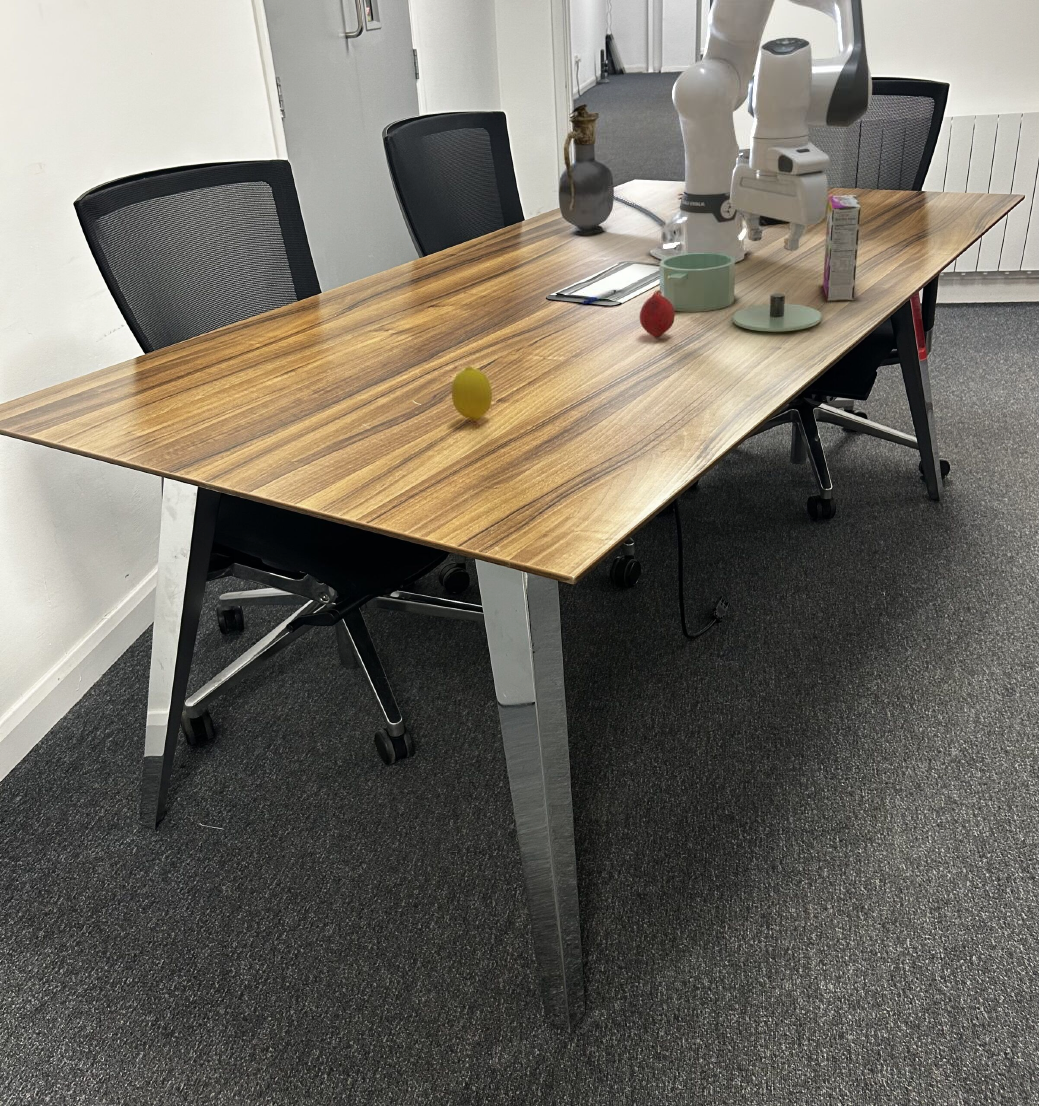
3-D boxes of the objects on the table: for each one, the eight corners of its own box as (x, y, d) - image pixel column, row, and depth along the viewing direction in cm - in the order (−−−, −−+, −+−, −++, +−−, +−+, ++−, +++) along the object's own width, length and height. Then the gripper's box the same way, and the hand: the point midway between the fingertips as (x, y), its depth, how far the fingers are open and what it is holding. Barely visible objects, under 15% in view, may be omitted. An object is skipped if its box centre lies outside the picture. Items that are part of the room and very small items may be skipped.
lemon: (454, 416, 138) (448, 362, 134) (493, 412, 138) (487, 358, 134) (455, 430, 133) (449, 374, 129) (495, 426, 133) (490, 370, 129)
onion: (665, 344, 159) (665, 295, 155) (634, 341, 162) (633, 293, 158) (680, 334, 163) (680, 286, 159) (649, 331, 166) (648, 284, 162)
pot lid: (719, 330, 163) (719, 302, 161) (751, 307, 174) (753, 281, 171) (803, 338, 156) (805, 309, 154) (832, 314, 166) (834, 287, 164)
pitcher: (619, 225, 249) (615, 98, 234) (590, 242, 234) (584, 107, 219) (580, 225, 253) (574, 100, 239) (550, 241, 239) (541, 109, 224)
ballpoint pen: (585, 306, 184) (585, 300, 184) (582, 305, 185) (581, 300, 184) (616, 292, 191) (616, 287, 191) (612, 292, 192) (612, 287, 191)
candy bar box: (821, 286, 183) (827, 195, 175) (848, 285, 182) (856, 193, 174) (824, 301, 173) (832, 206, 165) (854, 301, 172) (862, 205, 164)
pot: (640, 312, 177) (640, 270, 173) (685, 286, 190) (685, 247, 187) (709, 318, 170) (710, 275, 166) (750, 291, 183) (752, 251, 180)
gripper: (722, 151, 159) (719, 237, 166) (804, 163, 143) (797, 258, 149) (753, 147, 161) (749, 232, 168) (837, 158, 145) (829, 252, 152)
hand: (772, 244), depth 159 cm, fingers open, 8 cm apart
